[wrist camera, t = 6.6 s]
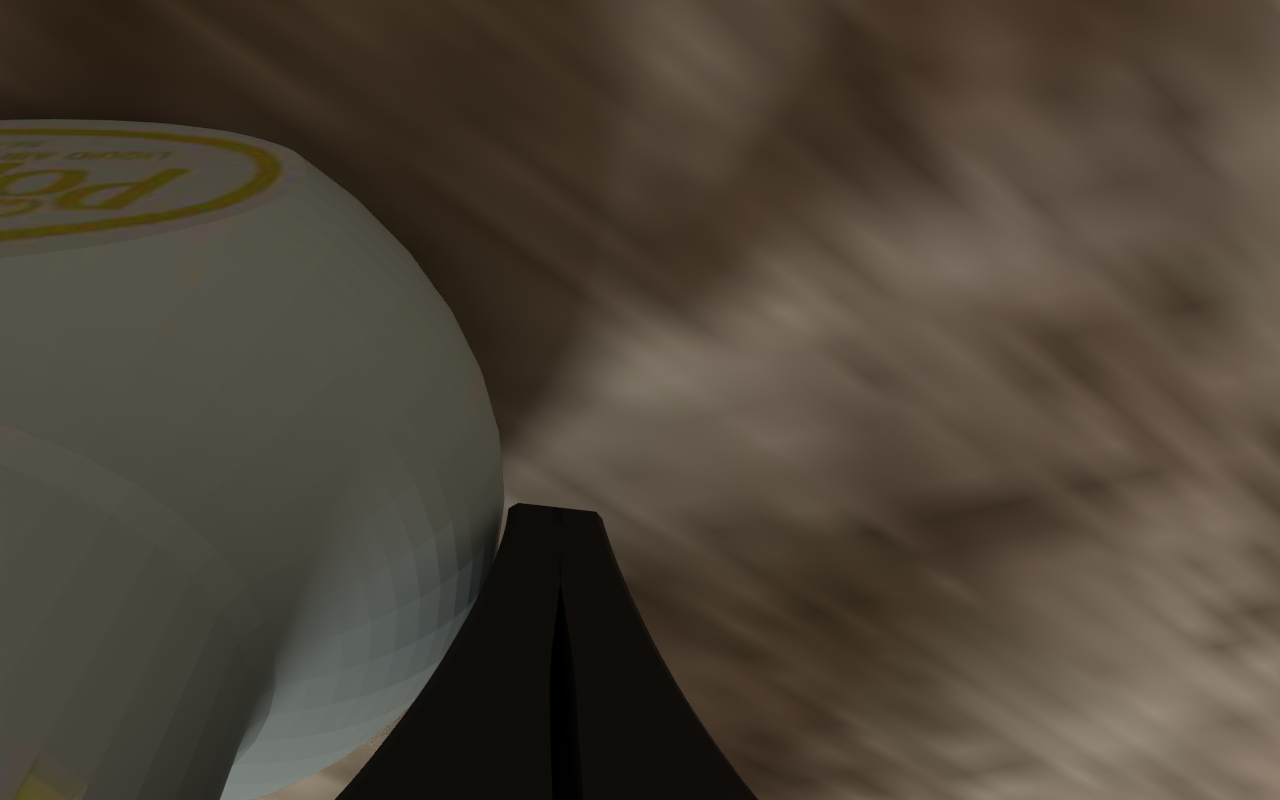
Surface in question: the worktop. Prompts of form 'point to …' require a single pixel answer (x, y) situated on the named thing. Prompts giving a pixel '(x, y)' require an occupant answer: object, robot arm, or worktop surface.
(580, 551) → the robot arm
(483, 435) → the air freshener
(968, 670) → the worktop surface
